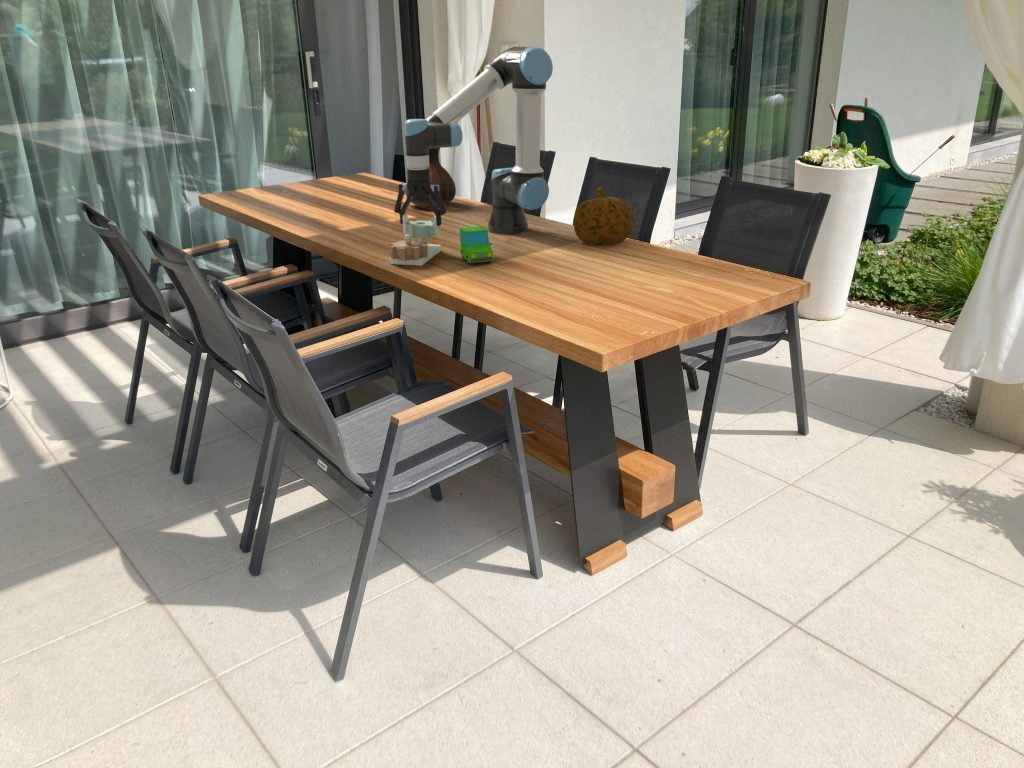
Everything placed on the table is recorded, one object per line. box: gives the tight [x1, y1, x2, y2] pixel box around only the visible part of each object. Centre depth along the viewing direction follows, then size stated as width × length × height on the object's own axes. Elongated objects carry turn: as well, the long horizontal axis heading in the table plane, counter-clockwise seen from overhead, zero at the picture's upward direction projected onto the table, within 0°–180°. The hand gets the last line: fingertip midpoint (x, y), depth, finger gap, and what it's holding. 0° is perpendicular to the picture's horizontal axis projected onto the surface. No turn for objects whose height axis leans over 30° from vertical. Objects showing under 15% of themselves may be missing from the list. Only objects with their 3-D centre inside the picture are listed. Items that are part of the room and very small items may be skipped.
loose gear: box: [405, 219, 436, 239], centre depth 283 cm, size 10×10×4 cm
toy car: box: [459, 225, 494, 265], centre depth 274 cm, size 10×13×10 cm
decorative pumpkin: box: [573, 186, 635, 247], centre depth 293 cm, size 20×21×20 cm
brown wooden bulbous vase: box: [405, 148, 457, 209], centre depth 355 cm, size 22×22×30 cm
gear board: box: [389, 234, 442, 267], centre depth 278 cm, size 12×23×9 cm, turn 166°
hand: (421, 234), depth 284 cm, fingers closed on loose gear, 10 cm apart
